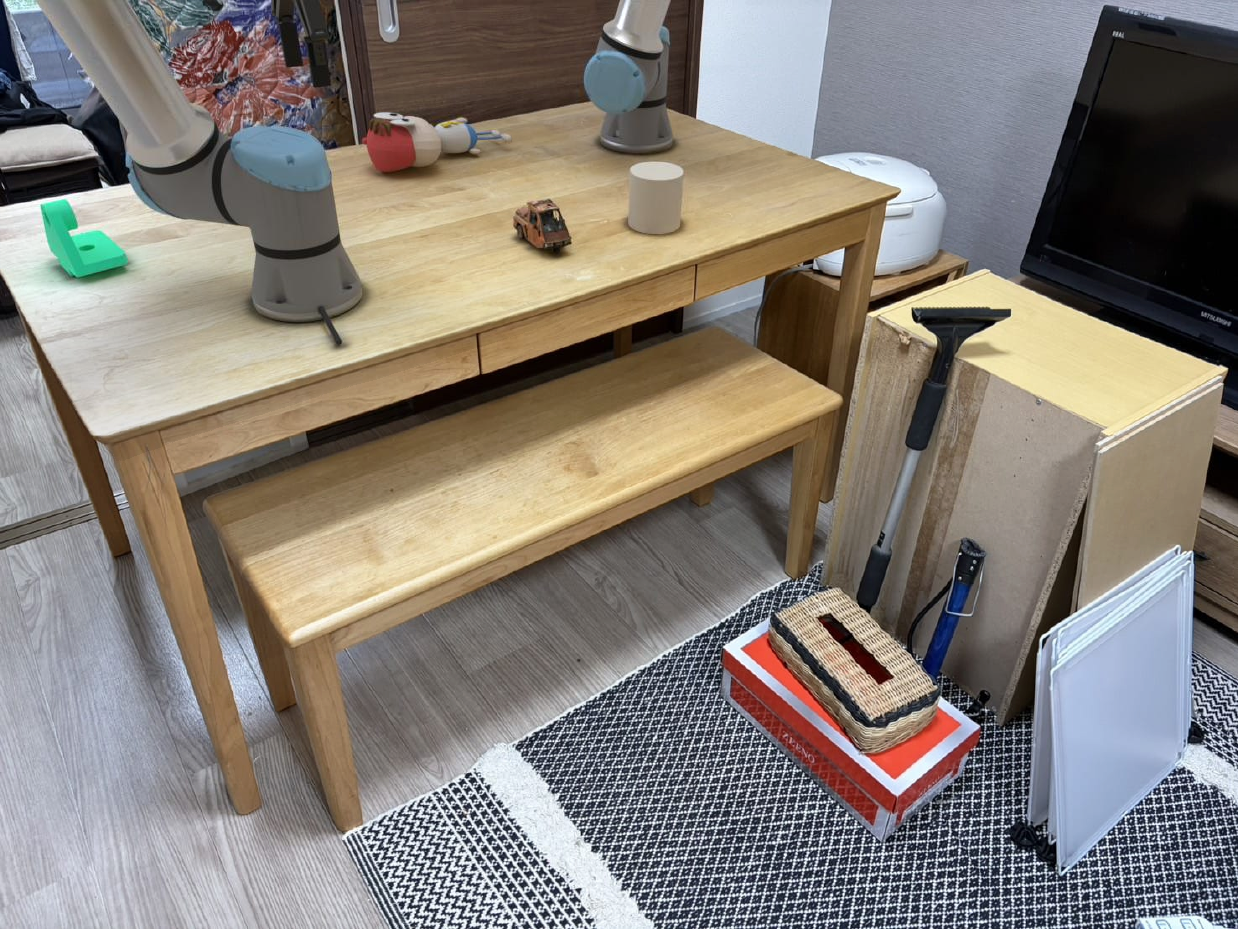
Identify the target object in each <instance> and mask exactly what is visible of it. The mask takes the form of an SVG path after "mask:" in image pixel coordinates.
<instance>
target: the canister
mask: <svg viewBox="0 0 1238 929" xmlns="http://www.w3.org/2000/svg"><path fill="white" fill-rule="evenodd" d="M684 175H685V171H684V169H683V168H682V167H681V166H679V165H677V164H674V163H671V162H665V161H643V162H638V163H636V164H634V165H632V166H631V167H630V168H629V183H628V184H629V188H628V214H627V215H628V218H627V219H628V220H627V223H628V226H629V227H630V228H631V229H632V230H634V231H635V232H639V233H642V234H648V235H665V234H670V233H673V232H676V231H677V230H679V229H680V227H681V219H682V206H683V205H682V204H683V191H684Z"/></svg>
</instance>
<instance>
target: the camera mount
mask: <svg viewBox="0 0 1238 929" xmlns="http://www.w3.org/2000/svg"><path fill="white" fill-rule="evenodd" d="M39 207H40V212H41V218H42V222H43V226H44V231H45V237H46V242H47V244H48V247H49V250H50V253H52V254H53V255H54V256H55V257H56V258H57V259H58V262H59V264H60V266H61V267H62V268H63V270H65V272H66V273H67V274H68V275H69V276H70V277H73V276H74V277H75V278H81V277H85V276H88V275H92V274H96V273H100V272H104V271H107V270H110V269H115V268H118V267H122V266H125V265H127V264H128V263H129V260H128V257H127V254H126V251H124V249H123V248H121V247H120V246H119V245H118V244H117V243H116V242H115V241H113V240H112V239H111V238H110V237H109V236H108V235H107V234H106V233H105V232H103V231H102V230H98V229H97V230H90V231H86V232H83V233H79V234H74V235H71V233H70V232H69V231H73V230H78V229H79V224H78V220H77V216H76V213H75V212H74V209H73V208H72V206H71V204H70V202H69V201H68V200H67V199H66V198H63V199H58V200H54V201H50V202H45V203H40V206H39Z"/></svg>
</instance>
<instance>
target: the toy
mask: <svg viewBox="0 0 1238 929" xmlns="http://www.w3.org/2000/svg"><path fill="white" fill-rule="evenodd" d="M486 135H491V136H486ZM479 136H480V137H479ZM500 139H501V140H502V141H503V142H504V143H507V144H510V143H512V142H513V137H512V136H511V135H510V134H507V133H501V131H500V130H499V129H491V130H490V131H483V132H477V131H476V130H475V129H474V127H472V126H471V125H470V124H468V119H467V118H465V117H462V116H461V117H458V118H455V119H451V120H447V121H443V122H440V123H438V124H436V125H435V126H433V124H432V123H431V122H430V121H428V120H427V119H424V118H421V117H419V116H416V115H413V116H412V115H406V116H404V115H402V114H399V113H396V112H387V111H386V112H377V113H374V114H373V118H371V119H370V120H369V124H368V131H367V135H366V137H364V136H363V138H362V139H361V143H362V144H363V145H365V146H366V149H367V152H368V153H367V154H368V156H369V158H370V161H371V162H372V164H373V166H374V168H375V169H376V170H377V171H379V172H381V173H392V172H396V171H401V170H403V169H407V168H410V167H414V168H424V167H428V166H430V165H432V164H433V163H435V162H436V161H437V160H438V158H439V157H440V154H441V152H443V153H448V154H462V153H465V152H469V153H470V154H471V155H479V154H480V153H481V150H480V148H476V147H475V146H476V145H477V142H478V141H489V140H500Z"/></svg>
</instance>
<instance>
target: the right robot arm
mask: <svg viewBox="0 0 1238 929" xmlns="http://www.w3.org/2000/svg"><path fill="white" fill-rule="evenodd" d="M671 1H672V0H619V3H618V6H617V10H616V13H615V16H614V18H613V19H612V20H610V21H608V22H607V23H604V24H603V27H602V30H601V34H600V37H599V41H598V44H597V46H596V51H595V53H594V55H592V57H591V58H590V59H589V60H588V62H587V64H586V67H585V69H584V73H583V85H584V90H585V93H586V95H587V97H588V98H589V101H590V102H591V103H592V104H593V105H594V106H595V107H596V108H597V109H598V110H600V111H601V112H603V113H605V117H604V120H603V123H602V125H601V129H600V135H599V142H600V144H601V145H602V146H603V147H605V148H607V149H609V150H611V151H615V152H619V153H623V154H636V155H638V154H639V155H642V154H653V153H659V152H663V151H666V150H668V149H669V148H671V147H672V145H673V142H674V141H673V140H674V134H673V129H672V125H671V121H670V118H669V117H670V116H669V113H668V109H667V92H668V90H667V89H668V74H669V72H668V71H669V56H670V55H669V54H670V46H671V42H670V31H669V29H668V28H667V27H665V26H663V24H664V22H665V18H666V16H667V12H668V9H669V6H670V3H671Z"/></svg>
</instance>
